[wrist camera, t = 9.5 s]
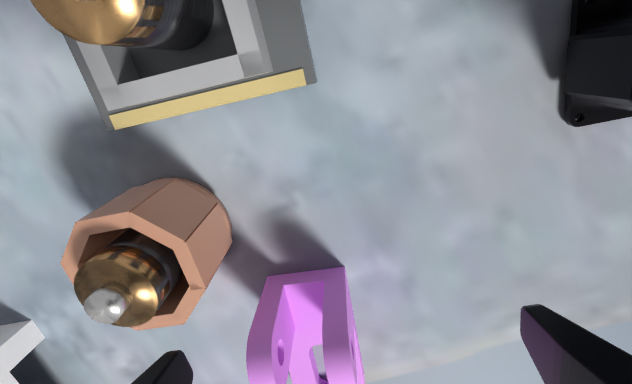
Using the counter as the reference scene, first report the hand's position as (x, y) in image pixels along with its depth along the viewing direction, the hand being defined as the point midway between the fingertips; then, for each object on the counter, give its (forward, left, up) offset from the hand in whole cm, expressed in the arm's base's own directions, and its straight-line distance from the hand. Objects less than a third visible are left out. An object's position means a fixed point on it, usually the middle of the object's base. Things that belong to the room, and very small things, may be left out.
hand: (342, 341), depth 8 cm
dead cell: (+11, +1, -11) cm, 16 cm away
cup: (+11, +1, -12) cm, 16 cm away
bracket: (+4, +13, -12) cm, 18 cm away
